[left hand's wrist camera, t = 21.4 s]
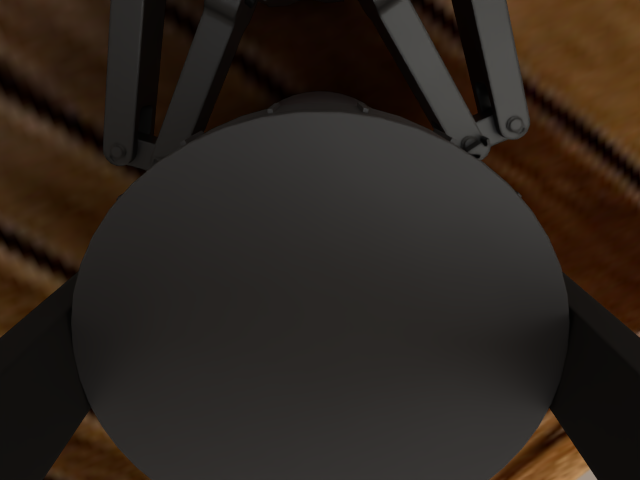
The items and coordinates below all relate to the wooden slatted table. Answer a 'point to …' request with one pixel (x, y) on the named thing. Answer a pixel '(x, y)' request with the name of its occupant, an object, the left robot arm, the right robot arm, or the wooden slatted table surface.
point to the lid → (320, 306)
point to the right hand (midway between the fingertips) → (326, 295)
